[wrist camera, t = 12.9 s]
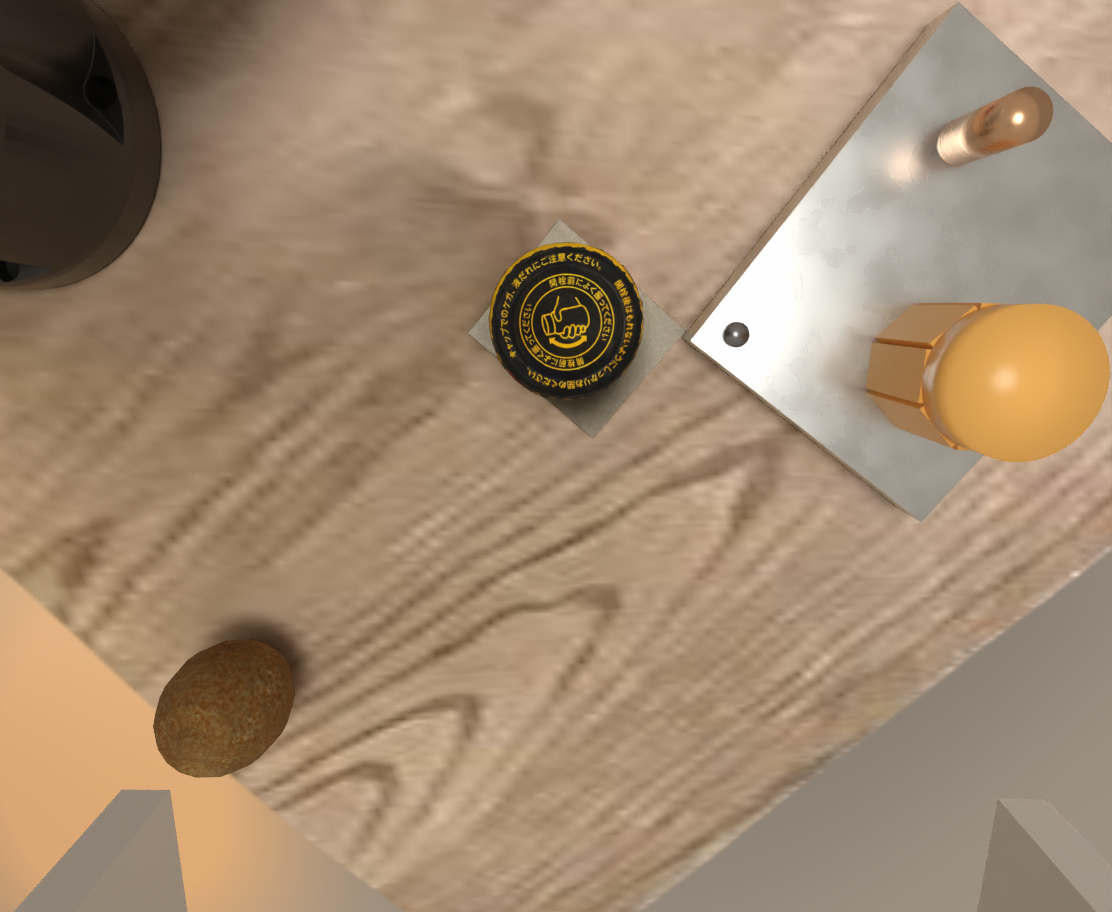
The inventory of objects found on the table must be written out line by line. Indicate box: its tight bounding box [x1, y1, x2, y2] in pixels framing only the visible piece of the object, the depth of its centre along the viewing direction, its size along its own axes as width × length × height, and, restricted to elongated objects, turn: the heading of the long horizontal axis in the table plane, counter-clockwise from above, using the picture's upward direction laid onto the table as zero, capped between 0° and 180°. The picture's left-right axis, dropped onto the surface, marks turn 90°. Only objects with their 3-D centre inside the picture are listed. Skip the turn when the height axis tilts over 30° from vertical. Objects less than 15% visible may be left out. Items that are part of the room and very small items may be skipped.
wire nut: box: [866, 303, 1110, 462], centre depth 29 cm, size 6×6×7 cm
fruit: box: [153, 640, 295, 777], centre depth 35 cm, size 6×6×8 cm
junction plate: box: [682, 2, 1112, 522], centre depth 31 cm, size 15×18×7 cm
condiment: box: [468, 219, 686, 438], centre depth 29 cm, size 7×8×12 cm
